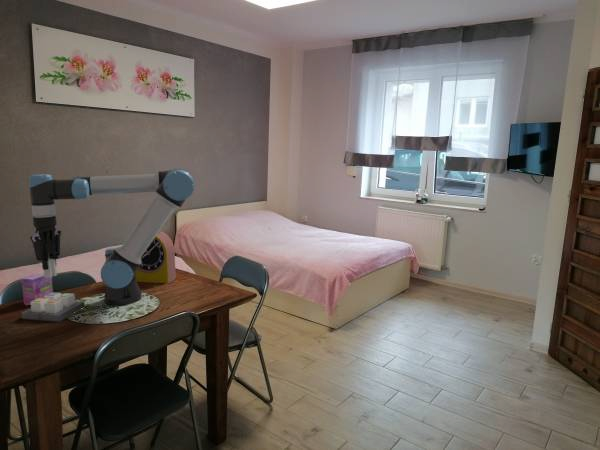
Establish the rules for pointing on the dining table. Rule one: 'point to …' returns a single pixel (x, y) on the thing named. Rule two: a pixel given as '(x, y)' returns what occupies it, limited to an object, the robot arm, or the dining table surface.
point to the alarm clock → (158, 261)
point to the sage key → (67, 299)
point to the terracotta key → (53, 306)
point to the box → (36, 287)
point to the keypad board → (53, 316)
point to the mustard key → (38, 305)
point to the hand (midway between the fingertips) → (50, 276)
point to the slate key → (52, 296)
